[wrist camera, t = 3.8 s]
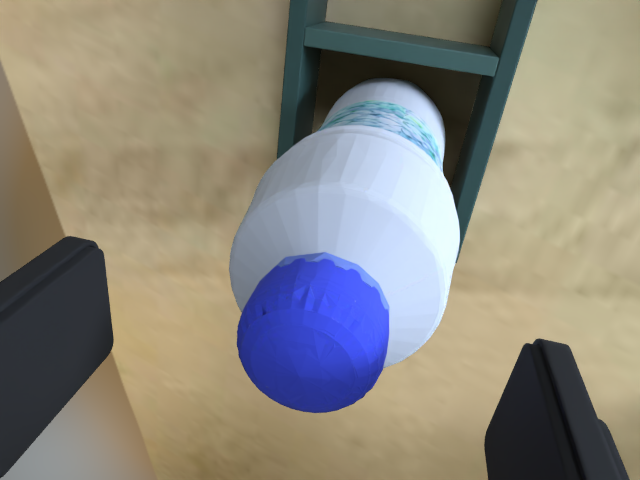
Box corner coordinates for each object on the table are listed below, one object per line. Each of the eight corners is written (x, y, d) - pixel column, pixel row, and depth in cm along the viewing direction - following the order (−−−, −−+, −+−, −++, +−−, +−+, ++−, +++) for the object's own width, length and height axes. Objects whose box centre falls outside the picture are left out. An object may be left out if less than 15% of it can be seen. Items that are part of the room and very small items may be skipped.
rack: (576, -193, 20) (611, -238, 16) (453, 226, 29) (456, 263, 25) (334, -215, 21) (311, -262, 17) (292, 193, 30) (270, 224, 26)
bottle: (310, 153, 29) (121, 404, 11) (359, 44, 25) (199, 163, 8) (410, 204, 29) (374, 528, 12) (472, 102, 26) (554, 341, 8)
